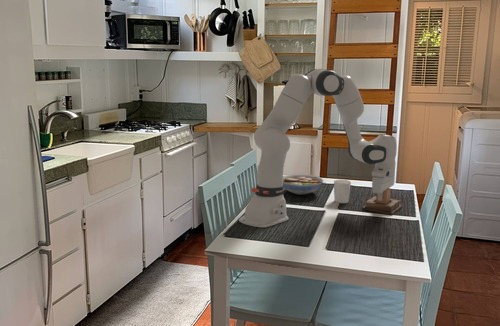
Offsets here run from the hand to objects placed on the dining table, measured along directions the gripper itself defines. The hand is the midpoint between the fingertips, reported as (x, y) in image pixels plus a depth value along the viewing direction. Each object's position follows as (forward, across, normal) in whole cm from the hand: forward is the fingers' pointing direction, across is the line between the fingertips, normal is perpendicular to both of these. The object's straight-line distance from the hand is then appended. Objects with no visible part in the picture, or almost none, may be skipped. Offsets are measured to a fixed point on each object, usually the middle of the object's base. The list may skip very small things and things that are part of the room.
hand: (382, 198), depth 220 cm
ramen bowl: (+5, 0, -43) cm, 43 cm away
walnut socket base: (+5, 0, 0) cm, 5 cm away
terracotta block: (+2, 0, 0) cm, 2 cm away
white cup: (+5, +1, -20) cm, 21 cm away
